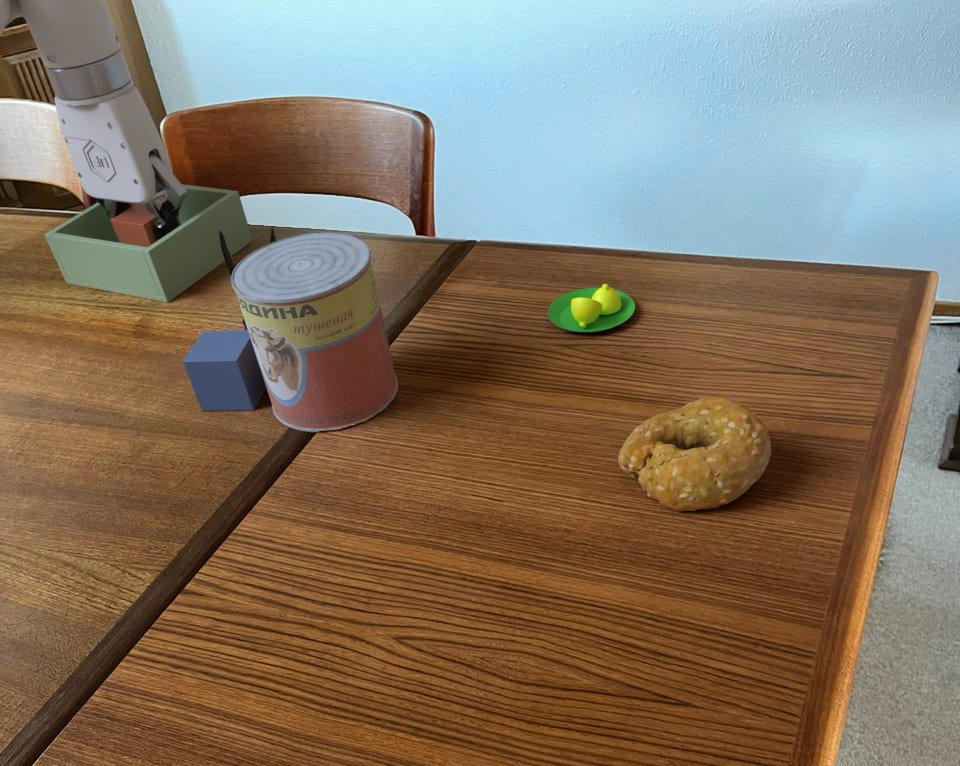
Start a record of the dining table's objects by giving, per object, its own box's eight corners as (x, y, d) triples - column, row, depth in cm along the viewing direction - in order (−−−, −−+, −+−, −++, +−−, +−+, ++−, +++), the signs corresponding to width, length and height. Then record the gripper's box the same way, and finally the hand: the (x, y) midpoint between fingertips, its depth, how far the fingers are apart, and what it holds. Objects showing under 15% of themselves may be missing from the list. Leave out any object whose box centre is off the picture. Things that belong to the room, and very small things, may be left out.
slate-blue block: (201, 411, 86) (182, 361, 83) (220, 380, 90) (202, 331, 86) (253, 410, 85) (236, 360, 82) (271, 379, 89) (255, 329, 85)
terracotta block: (128, 264, 108) (110, 220, 105) (158, 244, 111) (141, 200, 108) (160, 269, 106) (143, 224, 103) (190, 249, 109) (174, 204, 106)
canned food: (246, 411, 85) (201, 282, 77) (332, 349, 91) (299, 223, 82) (338, 446, 80) (301, 312, 71) (423, 378, 86) (399, 246, 77)
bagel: (649, 422, 77) (650, 369, 73) (786, 452, 72) (794, 397, 69) (595, 496, 71) (592, 443, 68) (739, 533, 67) (745, 478, 63)
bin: (66, 283, 108) (43, 234, 104) (153, 226, 116) (136, 178, 112) (167, 302, 102) (148, 251, 98) (253, 240, 110) (238, 190, 106)
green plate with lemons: (621, 341, 86) (620, 312, 84) (536, 334, 88) (533, 305, 86) (645, 297, 90) (645, 268, 88) (563, 291, 93) (561, 263, 91)
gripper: (4, 86, 97) (81, 261, 110) (125, 94, 90) (192, 280, 103) (59, 60, 101) (127, 231, 114) (178, 66, 94) (236, 248, 107)
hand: (157, 253), depth 108 cm, fingers closed on terracotta block, 5 cm apart
